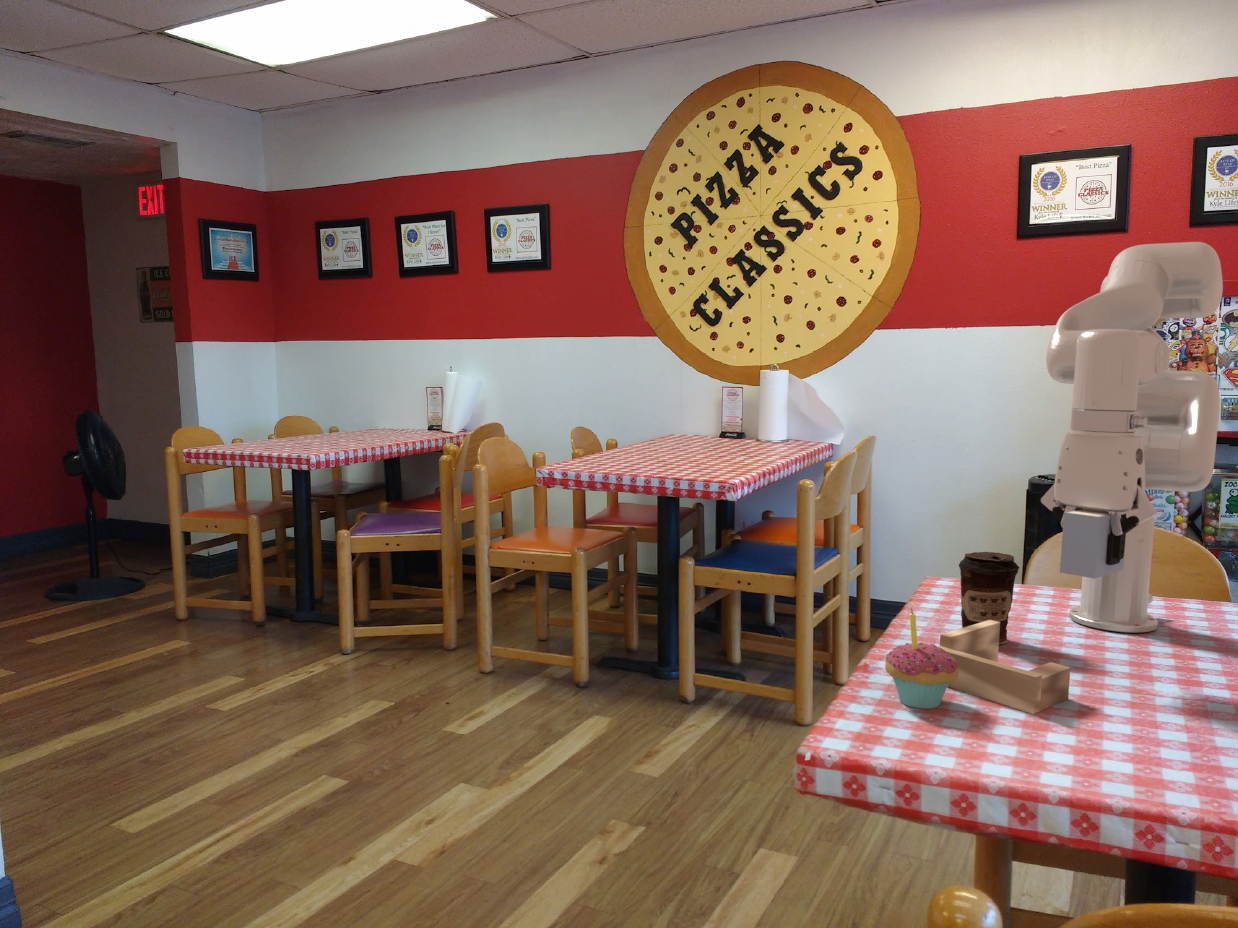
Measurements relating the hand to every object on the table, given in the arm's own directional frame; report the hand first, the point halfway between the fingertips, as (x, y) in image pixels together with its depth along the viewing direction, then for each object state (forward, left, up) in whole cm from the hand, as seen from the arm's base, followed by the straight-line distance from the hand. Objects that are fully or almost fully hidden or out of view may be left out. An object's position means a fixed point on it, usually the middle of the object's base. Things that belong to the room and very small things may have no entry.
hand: (1092, 558), depth 123 cm
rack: (+13, -3, -16) cm, 20 cm away
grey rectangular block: (0, 0, -2) cm, 2 cm away
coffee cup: (-2, -16, -16) cm, 22 cm away
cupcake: (+28, -7, -16) cm, 33 cm away
